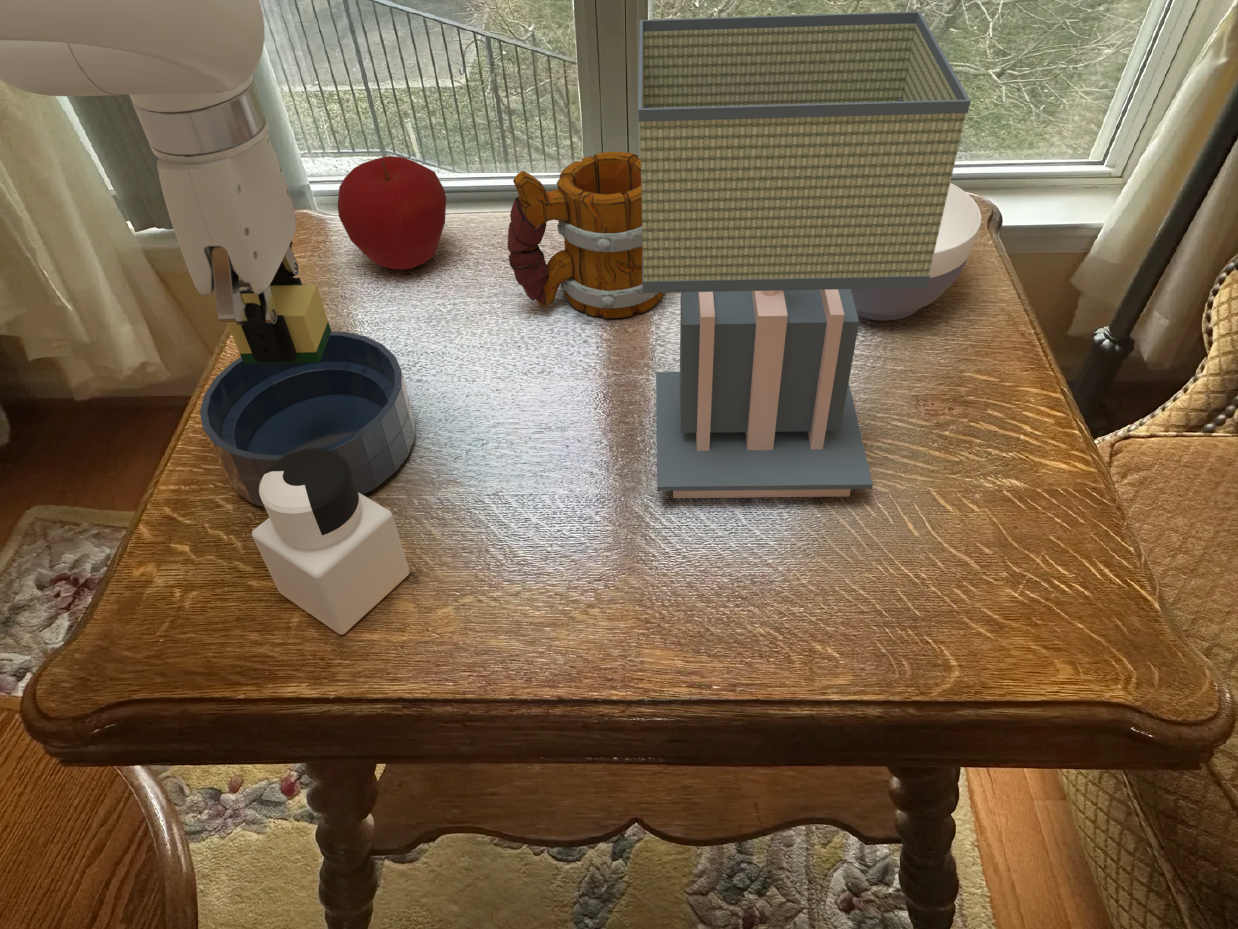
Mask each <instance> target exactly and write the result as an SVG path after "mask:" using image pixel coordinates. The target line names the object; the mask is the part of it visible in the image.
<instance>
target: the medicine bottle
mask: <svg viewBox="0 0 1238 929" xmlns="http://www.w3.org/2000/svg"><path fill="white" fill-rule="evenodd" d="M259 495H260V497H261V500H262V502H263V504H264V507H263V508H264V509H265V511H266V513H267V515H268V518H267V519H265V520H264V521H263V522H262V523H260V524H259V525H258V526H256V527H255V528H254V529H253V530H252V531H251V538H252V539H253V541H254V543H255V545H256V548H257V549H258V552H259V554H260V556H261V558H262V560H263V562H264V564H265V566H266V568H267V571H268V572H269V574H270V577H271V579H272V581H273V583H274V585H275V587H276V589H277V591H278V593H279V594H280V595H282V596H283V597H284V598H286V599H287V600H289V601H290V602H292V603H293V604H295V605H296V606H297V607H299V608H300V609H302V610H303V611H305V612H306V613H308V614H309V615H311V616H312V617H313V618H315V620H317V621H319V622H321V623H322V624H323V625H325V626H326V627H328V628H329V629H331V630H332V631H334V632H335V633H337V634H338V635H339V636H340V635H345V634H346V633H348V631H349V630H350V629H352V628H353V627H354V626H355V625H356V624H357V623H358V622H359V621H360V620H361V619H362V618H364V617H365V616H366V615H367V614H368V613H369V612H370V611H371V610H372V609H374V607H376V606H377V605H378V604H379V603H380V602H381V601H382V600H383V599H384V598H386V597H387V595H389V594H390V593H391V592H392V591H393V590H394V589H395V588H396V587H397V586H398V585H399V584H400V583H401V582H402V581H404V580H405V579H406V578H407V577H408V576H409V575H410V574H411V573H410V572H411V571H410V567H409V563H408V560H407V556H406V553H405V551H404V548H403V544H402V541H401V538H400V535H399V534H400V533H399V531H398V529H397V528H398V527H397V525H396V522H395V518H394V515H393V513H392V512H391V511H390V510H389V509H388V508H386V507H384V506H383V505H380V504H379V503H377V502H376V501H375V500H372V499H371V498H369V497H367V496H366V495H365V494H364V495H362V494H360V493H359V492H358V491H357V488H356V485H355V482H354V479H353V476H352V473H351V470H350V467H349V465H348V463H347V461H346V460H345V459H344V458H343V457H342V456H341V455H339V454H337V453H335V452H332V451H329V450H325V449H319V448H311V449H303V450H299V451H295V452H293V453H290V454H288V455H286V456H284V457H282V458H280V459H279V460H277V461H276V462H275V463H274V464H273V465H271V466H270V468H269V469H268V470H267V471H266V473H265V474H264V476H263V478H262V480H261V482H260V486H259Z"/></svg>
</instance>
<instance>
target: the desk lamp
mask: <svg viewBox="0 0 1238 929" xmlns="http://www.w3.org/2000/svg"><path fill="white" fill-rule="evenodd" d="M638 36H639V38H638V39H639V42H638V43H639V44H638V100H637V101H638V106H637V107H638V109H637V112H638V113H637V116H638V122H639V143H640V144H639V145H640V147H639V148H640V158H641V196H642V241H643V254H642V290H643V293H664V294H665V293H680V316H679V318H680V322H679V326H680V327H679V328H680V330H679V335H680V336H679V342H680V343H679V371H655V393H656V394H655V397H656V398H655V401H656V402H655V403H656V406H655V407H656V409H655V411H656V412H655V413H656V414H655V415H656V490H657V492H672V495H673V496H672V497H673V498H672V499H730V498H731V499H732V498H734V499H735V498H740V499H741V498H747V499H748V498H831V497H833V498H834V497H838V498H839V497H850V495H851V490H872V489H873V480H872V475H871V471H870V467H869V466H870V465H869V462H868V458H867V455H866V450H865V445H864V441H863V438H862V432H861V429H860V424H859V420H858V416H857V412H856V411H857V410H856V408H855V403H854V399H853V395H852V390H851V386H850V378H851V370H852V365H853V360H854V354H855V348H856V343H857V337H858V332H859V326H860V318H859V316H858V315H857V311H856V307H855V304H854V300H853V296H852V293H851V289H884V288H928V283H929V279H930V275H929V273H930V268H931V264H932V260H933V255H934V251H935V247H936V242H937V238H938V234H939V229H940V225H941V220H942V216H943V212H944V207H945V203H946V199H947V194H948V190H949V186H950V183H951V182H952V176H953V172H954V168H955V163H956V159H957V155H958V150H959V146H960V141H961V138H962V134H963V129H964V125H965V120H966V116H967V114H969V111H970V110H969V109H970V106H971V99H970V97H969V95H968V93H967V92H966V90H965V89H964V87H963V85H962V83H961V81H960V80H959V78H958V76H957V74H956V73H955V71H954V68H953V67H952V65H951V64H950V62H949V60H948V58H947V57H946V55H945V53H944V51H943V49H942V48H941V45H940V44H939V42H938V40H937V39H936V37H935V35H934V33H933V31H932V30H931V27H930V26H929V24H928V23H927V21H926V19H925V18H924V16H923V14H922V12H921V11H920V10H919V11H887V12H858V13H857V12H856V13H854V12H853V13H823V14H795V15H793V14H792V15H791V14H790V15H788V14H787V15H762V16H761V15H759V16H757V15H756V16H726V17H725V16H724V17H694V18H691V17H690V18H689V17H688V18H663V19H662V18H660V19H658V18H657V19H639V34H638Z"/></svg>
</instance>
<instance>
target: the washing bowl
mask: <svg viewBox="0 0 1238 929" xmlns="http://www.w3.org/2000/svg"><path fill="white" fill-rule="evenodd" d="M199 416H200V421H201V426H202V430H203V432H204V434H205V436H206V439H207V440H208V442H209V444H210V446H211V448H212V451H213V453H214V455H215V456H216V459H217V462H218V463H219V466H220V467H221V470H222V471H223V474H224V477H225V478H226V480H227V481H228V483H229V484H230V486H231V487H232V489H233V490H234V491H235V493H236V494H237V495H239V496H240V497H242V498H244V499H245V500H247V501H248V502H249V503H251V504H253V505H256V506H258V507H262V508H265V507H264V504H263V502H262V500H261V497H260V495H259V486H260V482H261V480H262V478H263V476H264V474H265V473H266V471H267V470H268V469H269V468H270V466H271V465H273V464H274V463H275V462H276V461H277V460H279V459H280V458H282V457H284V456H286V455H288V454H290V453H293V452H295V451H299V450H303V449H311V448H319V449H325V450H329V451H332V452H335V453H337V454H339V455H341V456H342V457H343V458H344V459H345V460H346V461H347V463H348V465H349V467H350V470H351V473H352V476H353V479H354V482H355V485H356V488H357V491H358V492H359V493H360V494H362V495H364V496H365V495H366V494H367V493H370V492H372V491H373V490H376V489H377V488H378V487H379V486H381V485H382V484H383V483H384V482H385V481H387V480H388V479H389V478H390V477H391V476H393V475H394V474H395V473H396V472H397V471H398V470H399V469H400V467H401V466H402V464H404V461H405V460H406V459H407V458H408V456H409V454H410V452H411V449H412V447H413V444H414V441H415V438H416V422H415V421H416V420H415V417H414V413H413V409H412V406H411V401H410V398H409V394H408V388H407V385H406V382H405V378H404V374H403V369H402V368H401V366H400V363H399V361H398V359H397V356H395V354H393V353H392V352H391V351H390V350H389V348H388V347H386V346H385V345H384V344H383V343H381V342H379V341H377V340H375V339H372V338H370V337H368V336H366V335H362V334H357V333H353V332H348V331H339V330H338V331H337V330H331V334H330V336H329V339H328V341H327V344H326V347H325V349H324V352H323V355H322V357H321V360H320V362H318V363H261V364H244V363H243V361H242V358H241V356H240V357H238V358H237V359H235V360H234V361H232V362H230V364H228V365H227V366H226V367H225V368H223V370H222V371H221V372H220V373H219V374H218V375H216V376H215V377H214V379H213V380H212V382H211V384H210V385H209V386H208V388H207V390H206V391H205V393H204V394H203V398H202V402H201V406H200V411H199Z"/></svg>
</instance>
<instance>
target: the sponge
mask: <svg viewBox="0 0 1238 929" xmlns="http://www.w3.org/2000/svg"><path fill="white" fill-rule="evenodd" d="M270 288H271V292H272V296H273V300H274V303H275V307H276V311H277V315H283V316H284V319H285V321H286V324H287V327H288V330H289V333H290V335H291V338H292V341H293V344H294V347H295V349H296V352H297V357H296V359H295V361H293V362H257V361H256V360H255V359H254V357H253V355H252V352H251V350H250V347H249V345H248V342H247V340H246V337H245V335H244V332H243V330H242V327H241V325H237V324H236V322H226V324H227V326H228V329H229V331H230V334H231V336H232V337H233V338H232V339H233V341H234V343H235V345H236V348H237V350H238V353H239V356H240V357H241V358H242V361H243V363H244V364H261V363H318V362H320V360H321V357H322V355H323V352H324V349H325V347H326V344H327V341H328V339H329V336H330V334H331V331H332V329H331V325H330V323H329V318H328V316H327V313H326V310H325V307H324V304H323V300H322V297H321V294H320V291H319V288H318V285H317V284H302V285H284V286H270ZM242 296H243V299H244V303H256V304H258V305H261V304H260V301H259V297H258V294H242Z"/></svg>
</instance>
